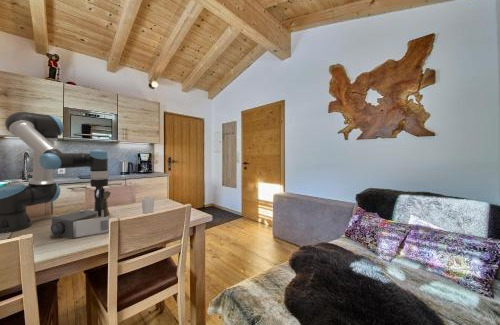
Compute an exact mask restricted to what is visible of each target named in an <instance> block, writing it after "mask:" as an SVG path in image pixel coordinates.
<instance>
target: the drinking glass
mask: <svg viewBox="0 0 500 325" xmlns="http://www.w3.org/2000/svg"><path fill="white" fill-rule="evenodd" d="M154 206H155V197H154V196H150V195H148V196H143V197H142V198H141V207H142V209H141V210H142V215H143V214H148V213H153V214H154Z"/></svg>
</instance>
